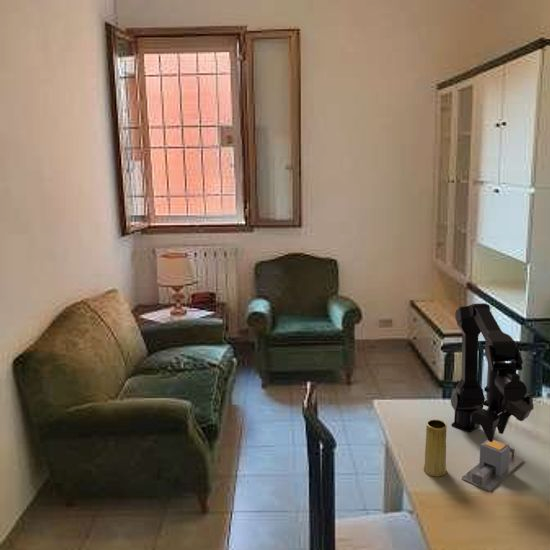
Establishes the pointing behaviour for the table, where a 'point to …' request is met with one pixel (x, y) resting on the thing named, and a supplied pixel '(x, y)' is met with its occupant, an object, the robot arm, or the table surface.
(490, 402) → the robot arm
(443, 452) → the vase
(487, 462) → the grey slider block
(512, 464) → the rail
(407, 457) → the table surface
